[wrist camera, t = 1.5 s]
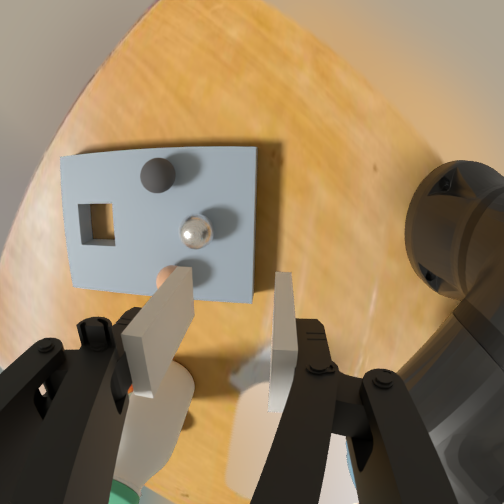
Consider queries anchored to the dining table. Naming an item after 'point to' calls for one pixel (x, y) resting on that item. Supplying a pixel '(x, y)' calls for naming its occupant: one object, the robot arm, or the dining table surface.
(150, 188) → the black ball
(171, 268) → the terracotta ball
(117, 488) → the milk bottle
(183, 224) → the steel ball
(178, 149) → the board
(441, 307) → the dining table surface
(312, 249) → the dining table surface
